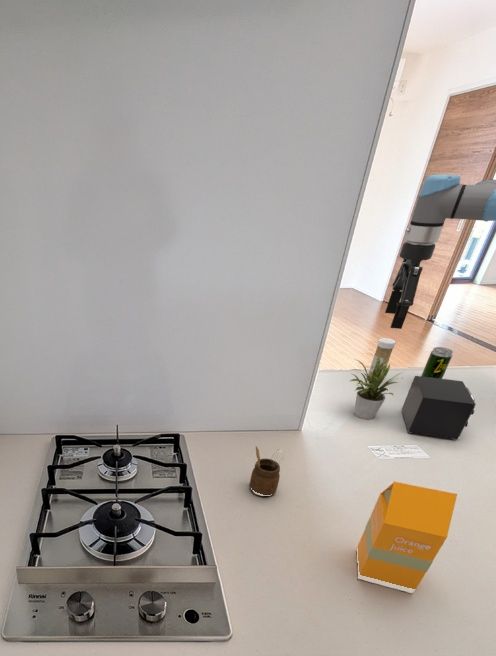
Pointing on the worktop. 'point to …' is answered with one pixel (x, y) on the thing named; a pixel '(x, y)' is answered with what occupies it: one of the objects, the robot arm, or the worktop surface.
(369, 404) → the house plant
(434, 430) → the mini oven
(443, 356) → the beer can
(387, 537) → the orange juice
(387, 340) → the sprinkles bottle
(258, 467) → the utensil holder
